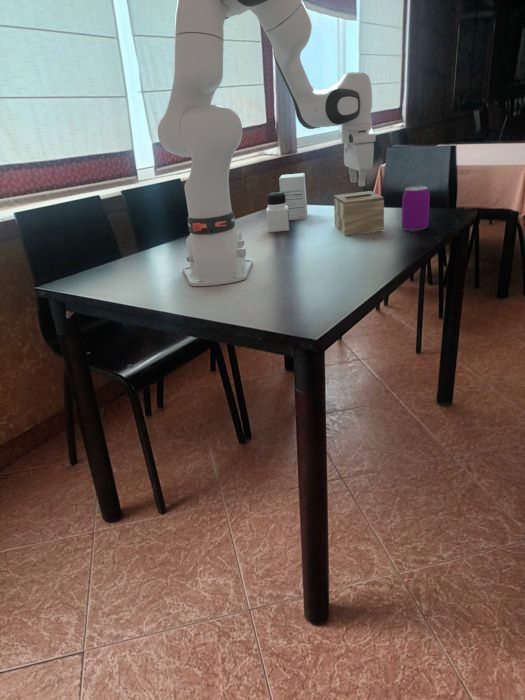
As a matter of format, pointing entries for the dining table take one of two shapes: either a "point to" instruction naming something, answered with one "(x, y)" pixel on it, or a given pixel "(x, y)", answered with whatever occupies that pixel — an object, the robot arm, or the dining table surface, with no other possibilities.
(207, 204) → the robot arm
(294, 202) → the supplement box
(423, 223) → the beverage can
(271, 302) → the dining table surface
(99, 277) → the dining table surface
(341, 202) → the coin box
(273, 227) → the medicine bottle
